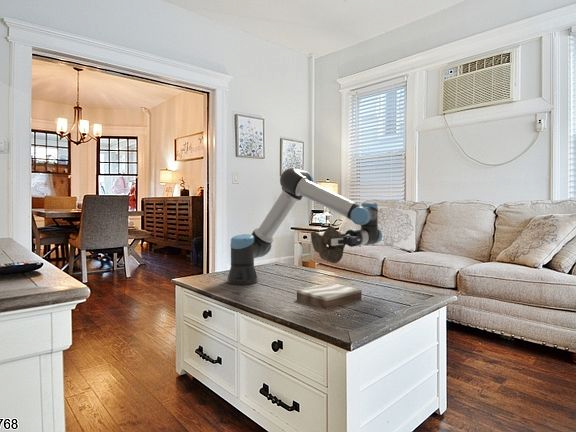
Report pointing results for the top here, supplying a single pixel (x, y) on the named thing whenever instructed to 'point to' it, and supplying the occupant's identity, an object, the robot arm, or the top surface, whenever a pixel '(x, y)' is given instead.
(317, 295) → the block
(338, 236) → the decorative stone
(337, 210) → the robot arm
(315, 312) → the top surface
